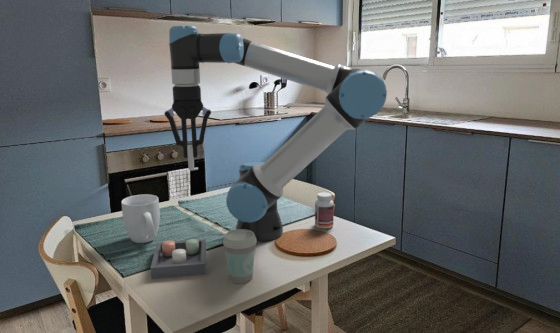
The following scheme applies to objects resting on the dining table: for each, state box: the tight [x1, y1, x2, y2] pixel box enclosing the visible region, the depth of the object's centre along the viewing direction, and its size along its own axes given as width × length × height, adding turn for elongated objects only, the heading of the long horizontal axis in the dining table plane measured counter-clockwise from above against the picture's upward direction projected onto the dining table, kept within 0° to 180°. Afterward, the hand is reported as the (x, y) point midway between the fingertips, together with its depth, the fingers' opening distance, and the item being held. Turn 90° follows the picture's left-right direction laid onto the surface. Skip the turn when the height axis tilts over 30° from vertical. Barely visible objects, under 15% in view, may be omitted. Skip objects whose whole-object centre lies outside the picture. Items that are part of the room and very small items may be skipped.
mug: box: [120, 193, 161, 244], centre depth 137 cm, size 15×11×13 cm
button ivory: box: [172, 249, 186, 264], centre depth 120 cm, size 4×4×3 cm
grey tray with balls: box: [150, 239, 207, 279], centre depth 124 cm, size 14×16×3 cm
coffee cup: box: [222, 228, 258, 284], centre depth 114 cm, size 8×9×12 cm
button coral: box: [162, 240, 175, 257], centre depth 126 cm, size 4×4×3 cm
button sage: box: [185, 238, 199, 255], centre depth 127 cm, size 4×4×3 cm
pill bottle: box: [314, 191, 335, 230], centre depth 148 cm, size 6×6×11 cm
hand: (191, 168), depth 128 cm, fingers closed
